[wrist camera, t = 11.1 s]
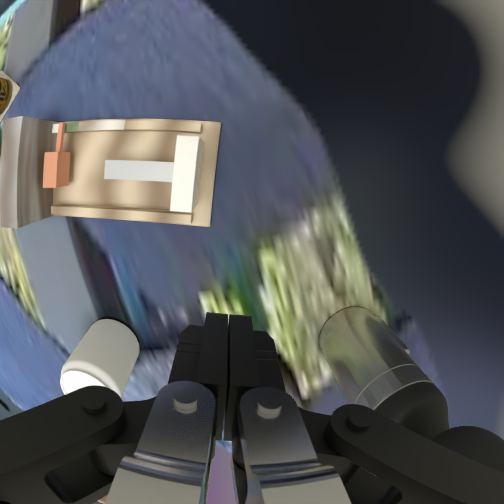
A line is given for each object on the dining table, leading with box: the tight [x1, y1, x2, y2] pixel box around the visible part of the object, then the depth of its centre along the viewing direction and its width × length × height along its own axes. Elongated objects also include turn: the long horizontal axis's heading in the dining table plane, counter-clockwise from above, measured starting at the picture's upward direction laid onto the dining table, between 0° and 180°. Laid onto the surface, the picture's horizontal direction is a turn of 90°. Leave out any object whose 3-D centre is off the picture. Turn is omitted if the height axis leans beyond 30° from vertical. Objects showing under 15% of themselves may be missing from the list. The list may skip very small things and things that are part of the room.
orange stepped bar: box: [43, 122, 71, 188], centre depth 26 cm, size 2×8×3 cm, turn 173°
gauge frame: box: [0, 116, 221, 228], centre depth 27 cm, size 24×12×9 cm, turn 83°
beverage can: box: [60, 319, 139, 399], centre depth 32 cm, size 8×8×12 cm
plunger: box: [104, 135, 204, 213], centre depth 28 cm, size 10×7×6 cm
